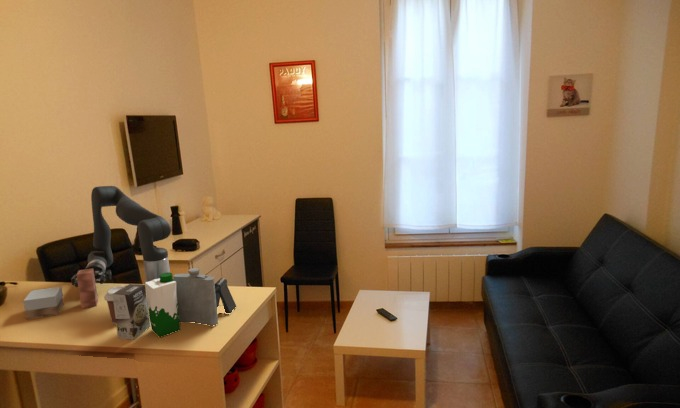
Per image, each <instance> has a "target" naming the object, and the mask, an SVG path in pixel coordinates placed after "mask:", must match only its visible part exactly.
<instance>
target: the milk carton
mask: <svg viewBox="0 0 680 408" xmlns="http://www.w3.org/2000/svg"><path fill="white" fill-rule="evenodd" d="M144 285H145V287H146V296H147V304H148V312H149V320H150V327H151V331H152V330H153V331H154V332H155V333H156V334H157V335H158V336H159V337H160V338H162V337H161V336H163V337H165V336H164V335H166V336H168V335H167V334H169V335H171V334H170V333H172V332H174V333H176V332H175V331H177V332H179V331H178V330H180V331H181V325H180V324H181V322H179V312H178V303H177V293H176V281H175V280H174V278H173V273H172V272H170V273H163V274H161V275H160V278H159V279H154V280H152V281H149V282H146V281H145V282H144ZM153 331H152V332H153ZM154 332H153V333H154ZM156 334H155V335H156ZM172 334H173V333H172ZM158 336H157V337H158ZM159 337H158V338H159Z"/></svg>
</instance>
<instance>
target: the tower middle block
mask: <svg viewBox="0 0 680 408" xmlns="http://www.w3.org/2000/svg"><path fill="white" fill-rule="evenodd" d="M61 298H64V294H63V289H62V286H53V287H48V288H41V289H34V290H30V291H29V293H28V294H27V296H26V297H25V298H24V299H23V306H24V312H25V311H28V310H34V309H41V308H48V307H54V306H57V305H58V303H59V302H60V300H61Z"/></svg>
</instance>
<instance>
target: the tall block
mask: <svg viewBox="0 0 680 408" xmlns="http://www.w3.org/2000/svg"><path fill="white" fill-rule="evenodd" d="M76 274H77V281H78V287H77V288H78V291H79V292H78V293H79V297H80V305H81V308H82V309H87V308H92V307H97V305H98V303H99V297H98V292H97V284H96V283H97V282H95V276H94V270H93V268H92V269H86V268H85V269H79V270H78V271H77V273H76Z"/></svg>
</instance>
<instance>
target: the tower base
mask: <svg viewBox="0 0 680 408" xmlns="http://www.w3.org/2000/svg"><path fill="white" fill-rule="evenodd" d="M63 306H64V297H62V298H61V300H60V302H59V303H58V305H57V306H54V307H48V308H41V309H34V310H28V311H25V310H24V312H25V317H26V320H28V321H29V320H33V319H40V318H46V317H51V316H57V315H59V314H60V312H61V310H62V308H63Z"/></svg>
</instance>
